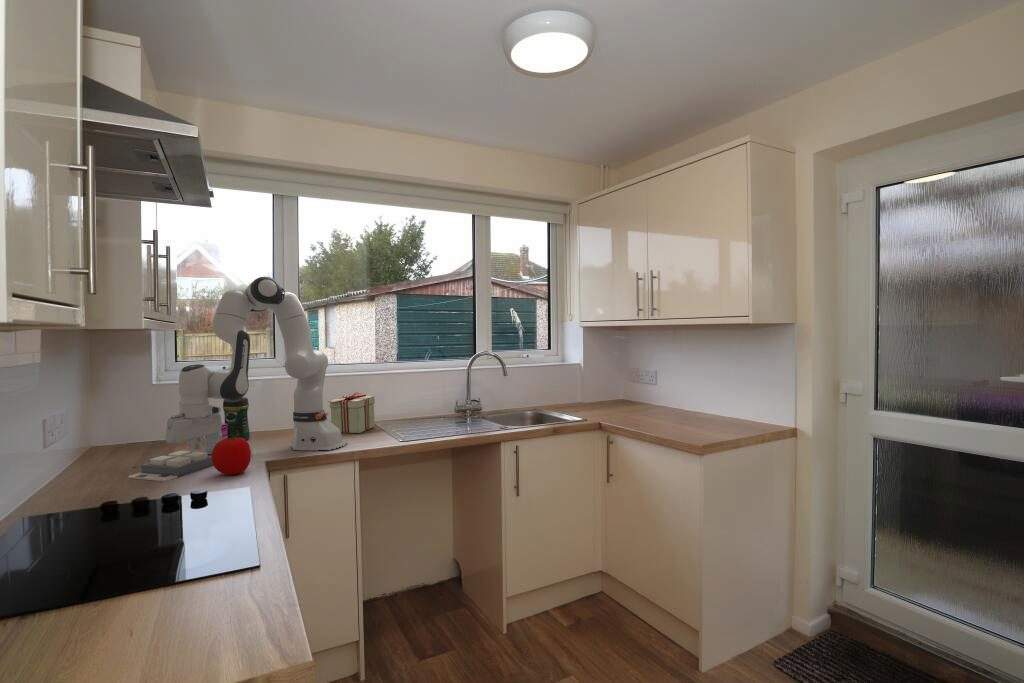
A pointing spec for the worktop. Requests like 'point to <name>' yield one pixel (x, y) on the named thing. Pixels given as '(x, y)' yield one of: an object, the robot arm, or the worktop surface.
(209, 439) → the supplement box
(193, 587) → the worktop surface
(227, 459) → the tomato
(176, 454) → the button
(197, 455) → the button
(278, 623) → the worktop surface
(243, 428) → the coffee jar
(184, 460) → the button
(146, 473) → the button board
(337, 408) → the gift box
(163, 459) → the button
